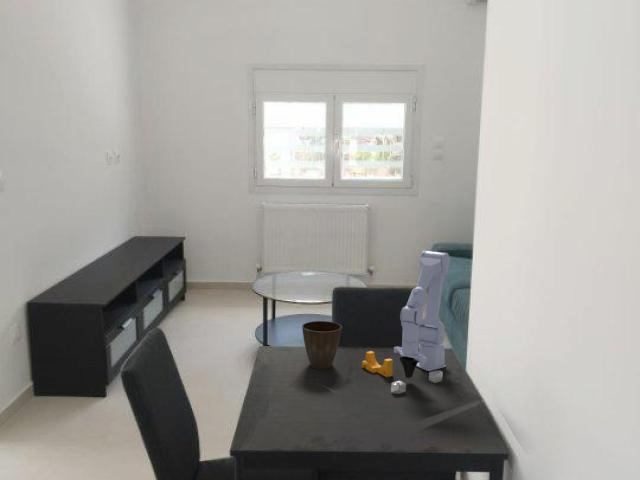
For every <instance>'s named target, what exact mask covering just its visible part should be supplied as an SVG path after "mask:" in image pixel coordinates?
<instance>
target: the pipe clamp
mask: <svg viewBox="0 0 640 480" xmlns="http://www.w3.org/2000/svg"><path fill="white" fill-rule="evenodd" d="M393 364H394V360H393V359H392V358H385V359H384V360H383V364H382V365H380V364H379V362H378V361H377V359H376V353H375V352H374V351H373V350H369V351H366V352H365V360H362V361H361V368H363V369H365V370H367V371H368V372H370V373H372V374H375V373H378V374H380V375H382V376H384V377H385V378H389V377H392V376H393V372H394V371H393V368H394V365H393Z"/></svg>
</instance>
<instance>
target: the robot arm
mask: <svg viewBox="0 0 640 480" xmlns="http://www.w3.org/2000/svg"><path fill="white" fill-rule="evenodd" d="M450 265H451V258H450V255H449V253H448V252H440V251H432V250H431V251H430V250H426V249H425V250H423V251H421V253H420V257H419V266H420V268H421V269H420V273H419V277H418V281H417V284H416V287H415V288H413V289H412V290H411V293H410V295H409V297H408V301H407V303H406V305H405V306H403V307H401V310H400V315H399V319H400V322H401V327H402V335H401V336H402V338H401V339H402V340H401V346H394V347H393V353H395V354H399V355H400V356H401V357H399V360H400V362H401V365H402V367H403V372H404V375H405V378H407V379H410V378H413V375H414V372H415V370H416V367H418V368H420V369H423V370H425V371H428V372H432V371H436V370H438V369H439V370H440V369H441V368H446V364H445V359H446V357H445V355H446V349H445V346H444V344H443V343H444V340H445V336H446V335H445V328H446V327H445V325H444V323H443V322H442V321H441V320H440V319H439V316H440V308H441V303H442V302H441V301H442V293H443V288H444V281H445V276H448V274H449V272H450ZM428 287H429V288H428ZM427 289H428V292H427ZM426 300H427V301H426ZM425 303H426V309H425V314H424V306H425ZM424 315H425V316H424ZM423 316H424V318H423Z"/></svg>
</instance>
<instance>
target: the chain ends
mask: <svg viewBox="0 0 640 480" xmlns="http://www.w3.org/2000/svg"><path fill="white" fill-rule="evenodd" d="M428 381H429V382H431V383H434V384H436V383H439V382H443V371H442V370H438V369H436V370H432V371H428ZM406 385H407V384H406V382H404V381H402V380H397V381H393V382H391V385H390V387H391V388H390V392H391V394H394V395H400V394H402V393H403V394H404V393H405V392H406V389H407V388H406V387H407V386H406Z"/></svg>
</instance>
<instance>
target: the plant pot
mask: <svg viewBox="0 0 640 480" xmlns="http://www.w3.org/2000/svg"><path fill="white" fill-rule="evenodd" d="M342 328H343V326H342V325H341V324H340V323H337V322H333V321H325V320H315V321H307V322H305V323H303V324H302V326H301V329H302V337H303V342H304V347H305V353H306V354H307V355H306V356H307V359H308V362H309V365H310V366H311V367H312V368H313V369H315V370H327V369H329V368H331V367H332V365H333V362H334V360H335V356H336V354H337V352H338V351H337V350H338V348H339V344H340V339H341V334H342Z"/></svg>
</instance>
